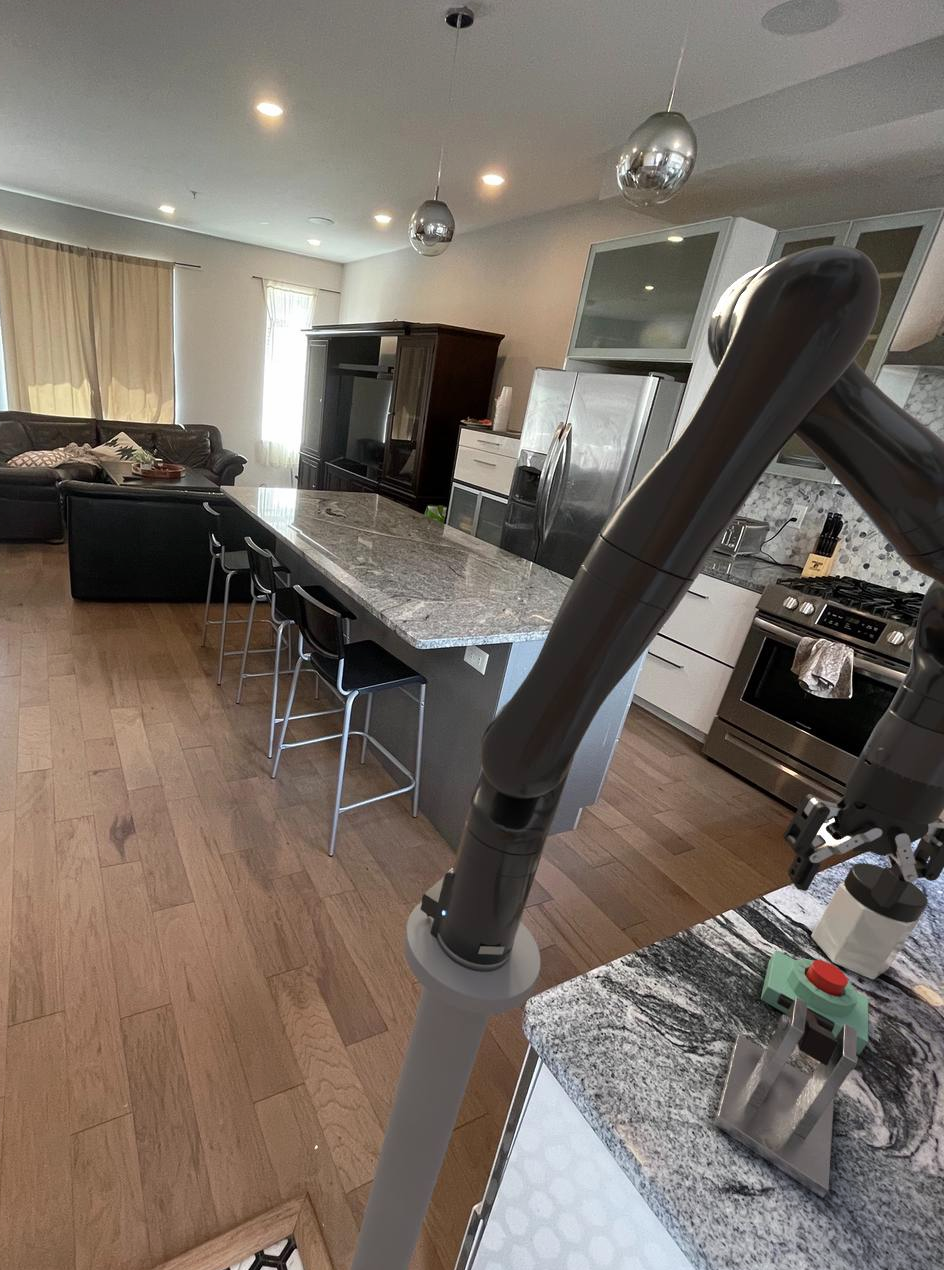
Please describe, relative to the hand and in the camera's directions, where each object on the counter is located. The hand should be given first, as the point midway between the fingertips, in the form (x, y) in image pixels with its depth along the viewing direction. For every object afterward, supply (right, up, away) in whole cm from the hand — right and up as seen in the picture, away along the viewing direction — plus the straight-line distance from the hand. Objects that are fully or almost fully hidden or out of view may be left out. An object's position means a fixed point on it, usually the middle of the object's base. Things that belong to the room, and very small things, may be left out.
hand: (837, 893), depth 67 cm
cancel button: (+4, -13, +7) cm, 16 cm away
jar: (+15, -15, +18) cm, 28 cm away
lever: (-7, -13, -5) cm, 15 cm away
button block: (+3, -17, +9) cm, 19 cm away
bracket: (-10, -20, -5) cm, 23 cm away
